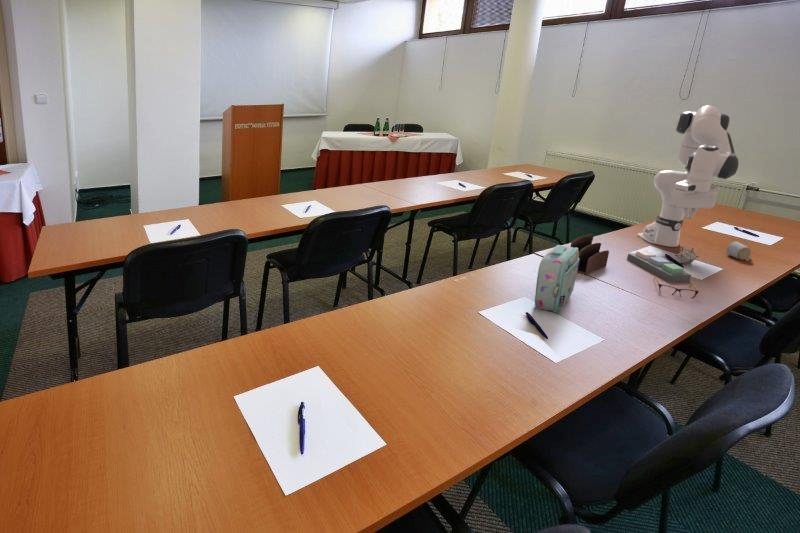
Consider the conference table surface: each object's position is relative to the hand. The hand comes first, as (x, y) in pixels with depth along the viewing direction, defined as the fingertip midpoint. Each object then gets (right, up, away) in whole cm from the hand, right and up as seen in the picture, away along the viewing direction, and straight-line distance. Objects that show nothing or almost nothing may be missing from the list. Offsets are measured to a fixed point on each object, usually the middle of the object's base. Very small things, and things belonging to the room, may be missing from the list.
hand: (688, 217), depth 197 cm
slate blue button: (-4, -20, +17) cm, 27 cm away
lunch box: (-66, -34, -24) cm, 78 cm away
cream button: (-5, -17, +25) cm, 30 cm away
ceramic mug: (+53, -16, +43) cm, 70 cm away
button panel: (-4, -22, +18) cm, 28 cm away
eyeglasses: (-8, -31, -4) cm, 32 cm away
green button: (-2, -23, +9) cm, 25 cm away
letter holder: (-38, -21, +14) cm, 46 cm away
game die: (+16, -20, +28) cm, 37 cm away
